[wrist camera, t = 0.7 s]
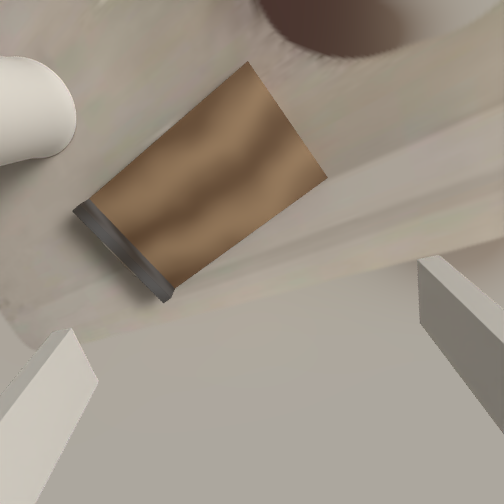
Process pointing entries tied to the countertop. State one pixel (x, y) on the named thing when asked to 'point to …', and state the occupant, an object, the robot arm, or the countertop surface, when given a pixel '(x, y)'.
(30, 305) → the countertop surface
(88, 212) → the flat wooden box
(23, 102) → the mug
